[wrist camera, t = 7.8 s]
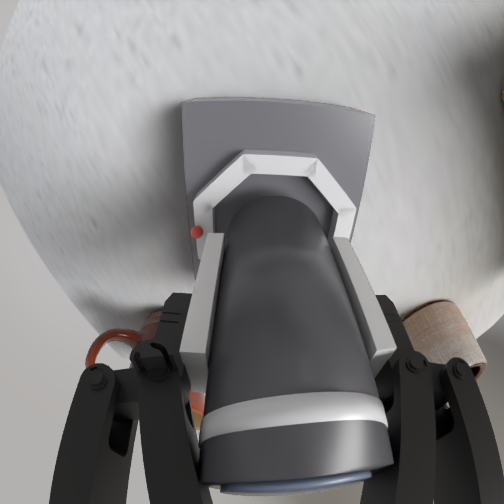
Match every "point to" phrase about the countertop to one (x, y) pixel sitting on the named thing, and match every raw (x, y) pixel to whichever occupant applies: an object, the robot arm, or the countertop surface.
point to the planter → (444, 336)
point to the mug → (132, 340)
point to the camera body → (272, 161)
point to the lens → (287, 365)
